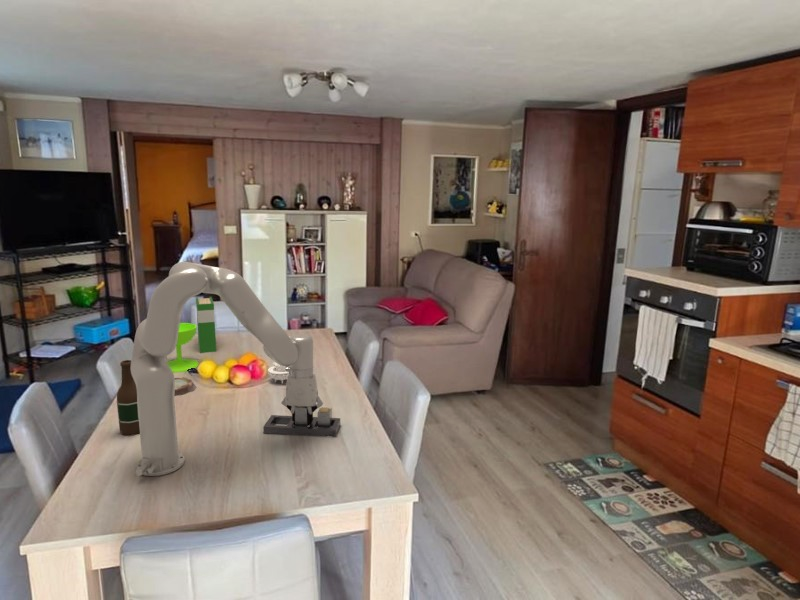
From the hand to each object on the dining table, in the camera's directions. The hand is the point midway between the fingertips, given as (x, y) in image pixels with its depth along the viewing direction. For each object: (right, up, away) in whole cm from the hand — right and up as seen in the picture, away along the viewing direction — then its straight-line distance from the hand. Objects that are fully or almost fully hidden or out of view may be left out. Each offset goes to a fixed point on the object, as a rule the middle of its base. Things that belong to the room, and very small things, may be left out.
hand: (302, 422), depth 175 cm
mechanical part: (-17, +7, +44) cm, 47 cm away
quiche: (-56, +5, +33) cm, 65 cm away
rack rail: (0, -2, +1) cm, 2 cm away
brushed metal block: (0, -1, 0) cm, 1 cm away
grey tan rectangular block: (+7, -3, 0) cm, 8 cm away
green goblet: (-66, +11, +58) cm, 88 cm away
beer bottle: (-55, -2, -3) cm, 56 cm away
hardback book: (-64, +17, +86) cm, 109 cm away
